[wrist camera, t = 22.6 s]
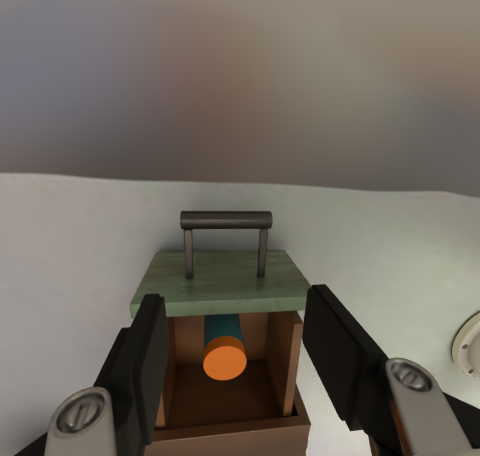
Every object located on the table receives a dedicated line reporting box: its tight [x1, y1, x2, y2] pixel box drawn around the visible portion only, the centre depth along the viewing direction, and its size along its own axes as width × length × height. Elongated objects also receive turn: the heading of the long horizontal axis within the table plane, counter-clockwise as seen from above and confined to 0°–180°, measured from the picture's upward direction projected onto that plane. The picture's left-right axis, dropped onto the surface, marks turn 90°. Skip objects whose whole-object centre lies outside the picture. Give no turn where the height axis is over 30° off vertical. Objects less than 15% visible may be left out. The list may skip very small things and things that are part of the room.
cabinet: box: [144, 383, 311, 456], centre depth 28 cm, size 16×15×11 cm
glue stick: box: [203, 313, 247, 380], centre depth 23 cm, size 4×4×7 cm
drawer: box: [130, 211, 311, 431], centre depth 23 cm, size 20×14×9 cm
